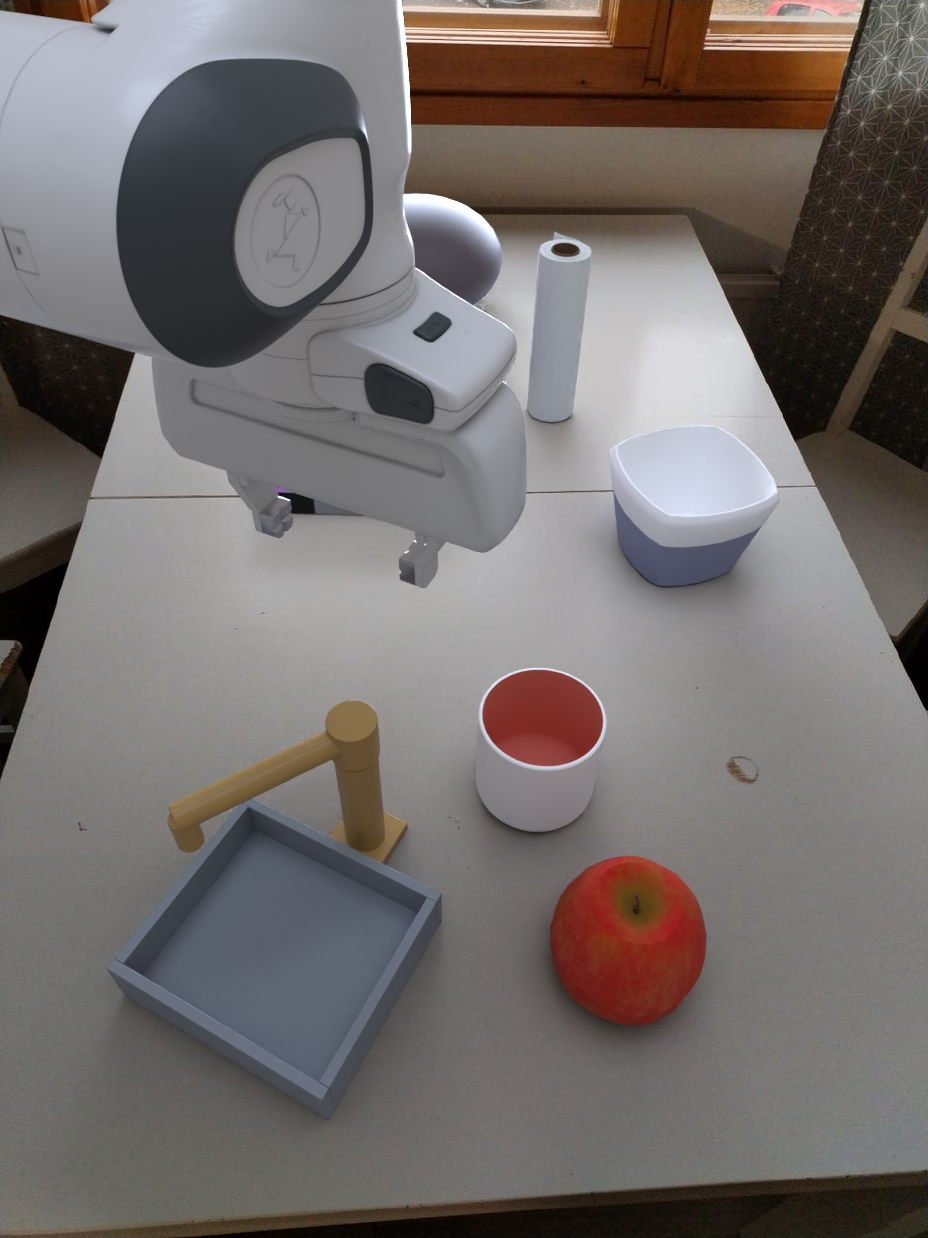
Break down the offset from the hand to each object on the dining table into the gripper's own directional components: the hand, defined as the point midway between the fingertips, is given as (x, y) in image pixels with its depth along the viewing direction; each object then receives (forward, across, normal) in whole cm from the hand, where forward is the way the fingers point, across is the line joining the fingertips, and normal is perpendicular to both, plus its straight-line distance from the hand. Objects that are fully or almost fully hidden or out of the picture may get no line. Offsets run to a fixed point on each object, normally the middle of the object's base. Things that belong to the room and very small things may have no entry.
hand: (345, 553), depth 50 cm
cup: (+31, +9, +11) cm, 34 cm away
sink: (+32, -1, -11) cm, 33 cm away
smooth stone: (+29, -40, +82) cm, 96 cm away
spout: (+20, -4, -5) cm, 21 cm away
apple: (+32, +21, -1) cm, 38 cm away
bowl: (+31, +11, +46) cm, 56 cm away
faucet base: (+31, -1, 0) cm, 31 cm away
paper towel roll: (+30, -11, +65) cm, 73 cm away
